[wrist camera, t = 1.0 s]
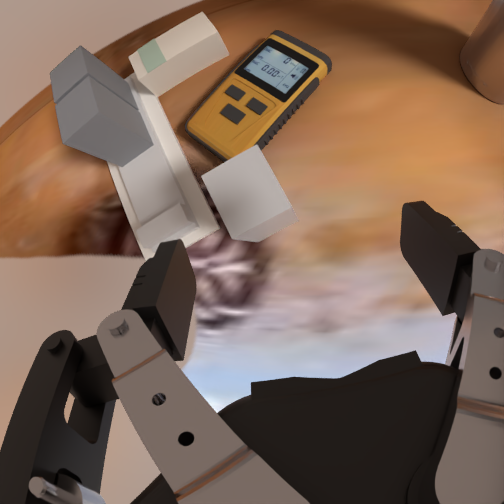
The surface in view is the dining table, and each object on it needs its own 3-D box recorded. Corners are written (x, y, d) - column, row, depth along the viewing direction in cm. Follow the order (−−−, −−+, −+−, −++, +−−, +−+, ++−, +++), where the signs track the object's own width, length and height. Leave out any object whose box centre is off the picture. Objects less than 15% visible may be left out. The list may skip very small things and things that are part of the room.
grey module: (275, 176, 30) (257, 144, 20) (298, 220, 30) (292, 206, 20) (234, 198, 31) (199, 176, 21) (257, 242, 31) (230, 239, 21)
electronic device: (189, 135, 33) (176, 125, 29) (275, 41, 30) (271, 24, 27) (244, 177, 31) (236, 170, 28) (334, 74, 29) (335, 58, 26)
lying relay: (215, 34, 32) (202, 11, 27) (230, 55, 31) (217, 31, 26) (147, 74, 33) (127, 56, 28) (158, 97, 33) (137, 79, 28)
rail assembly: (144, 68, 33) (94, 22, 22) (220, 228, 31) (170, 217, 20) (92, 108, 35) (35, 76, 23) (151, 267, 33) (81, 275, 22)
